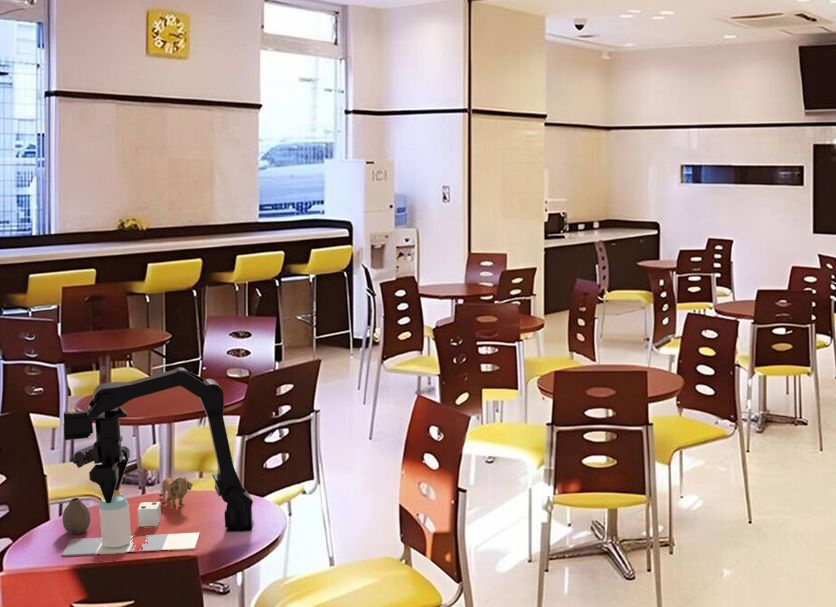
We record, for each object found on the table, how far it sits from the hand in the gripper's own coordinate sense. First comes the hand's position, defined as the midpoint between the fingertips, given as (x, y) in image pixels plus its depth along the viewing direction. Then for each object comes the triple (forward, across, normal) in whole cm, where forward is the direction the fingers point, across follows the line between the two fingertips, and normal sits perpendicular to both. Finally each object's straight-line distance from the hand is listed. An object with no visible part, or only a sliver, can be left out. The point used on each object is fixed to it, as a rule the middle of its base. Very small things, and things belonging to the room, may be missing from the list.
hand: (112, 496), depth 256 cm
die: (+13, -14, +6) cm, 20 cm away
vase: (+13, -11, -12) cm, 21 cm away
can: (+13, 0, 0) cm, 13 cm away
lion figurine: (+13, -28, +11) cm, 33 cm away
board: (+13, 0, +4) cm, 14 cm away
